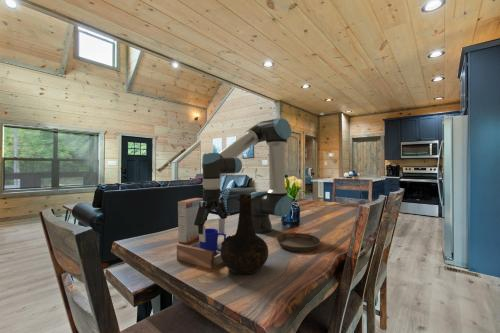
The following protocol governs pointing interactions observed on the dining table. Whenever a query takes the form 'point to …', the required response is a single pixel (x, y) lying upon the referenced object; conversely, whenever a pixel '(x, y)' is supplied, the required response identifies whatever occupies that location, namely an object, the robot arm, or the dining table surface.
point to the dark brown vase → (244, 243)
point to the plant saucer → (298, 241)
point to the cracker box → (188, 220)
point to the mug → (211, 240)
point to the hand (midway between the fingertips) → (212, 237)
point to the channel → (198, 255)
